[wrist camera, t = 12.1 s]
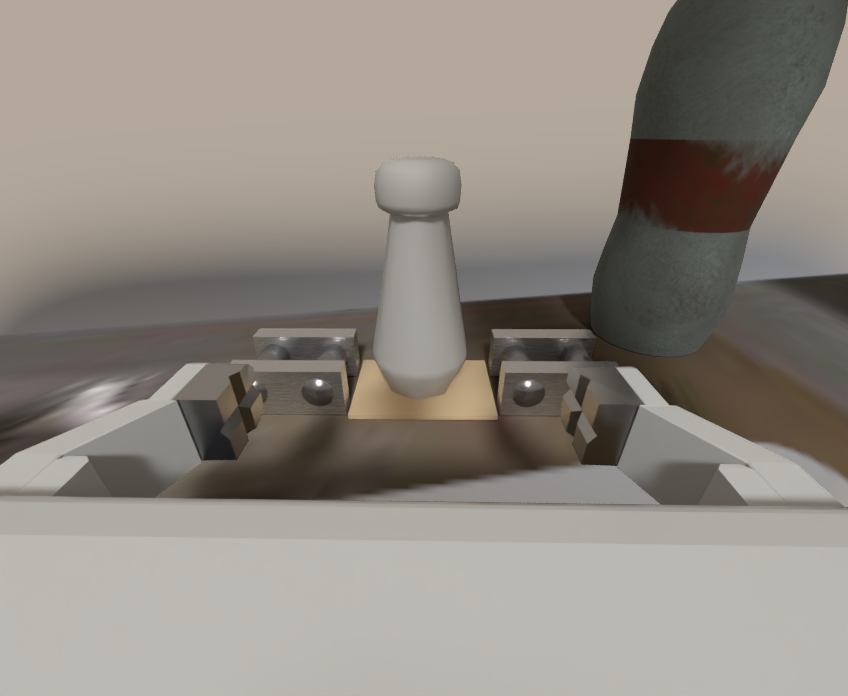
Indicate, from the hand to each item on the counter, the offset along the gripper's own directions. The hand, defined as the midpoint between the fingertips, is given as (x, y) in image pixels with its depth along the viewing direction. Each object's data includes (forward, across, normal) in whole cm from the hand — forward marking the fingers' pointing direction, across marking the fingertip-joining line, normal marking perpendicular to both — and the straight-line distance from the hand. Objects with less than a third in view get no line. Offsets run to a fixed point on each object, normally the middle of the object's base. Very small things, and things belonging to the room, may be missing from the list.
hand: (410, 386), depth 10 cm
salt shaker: (+12, 0, +8) cm, 15 cm away
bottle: (+20, -18, +9) cm, 28 cm away
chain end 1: (+12, +8, +9) cm, 16 cm away
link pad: (+12, 0, +9) cm, 15 cm away
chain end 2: (+12, -8, +9) cm, 17 cm away
